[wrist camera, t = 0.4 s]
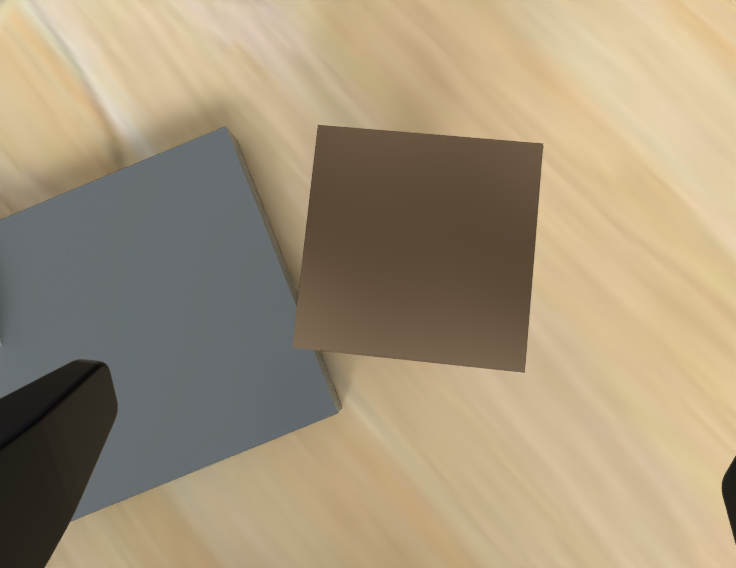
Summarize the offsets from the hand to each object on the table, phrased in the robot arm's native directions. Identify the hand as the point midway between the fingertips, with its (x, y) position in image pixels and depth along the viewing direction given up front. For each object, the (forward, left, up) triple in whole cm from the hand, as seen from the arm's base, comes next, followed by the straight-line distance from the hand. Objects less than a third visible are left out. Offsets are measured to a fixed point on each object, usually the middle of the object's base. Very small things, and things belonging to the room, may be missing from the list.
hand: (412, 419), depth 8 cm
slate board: (+5, +11, -14) cm, 19 cm away
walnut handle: (+3, -1, -15) cm, 15 cm away
